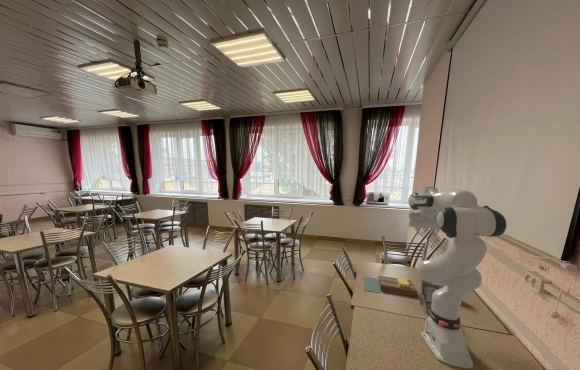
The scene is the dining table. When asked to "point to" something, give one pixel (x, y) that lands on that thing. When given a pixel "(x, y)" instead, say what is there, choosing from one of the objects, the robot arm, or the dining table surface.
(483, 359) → the dining table surface
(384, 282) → the board
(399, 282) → the yellow block
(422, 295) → the coffee box
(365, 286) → the mat
